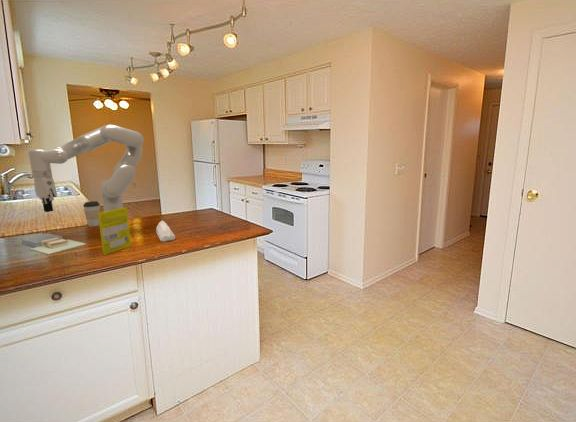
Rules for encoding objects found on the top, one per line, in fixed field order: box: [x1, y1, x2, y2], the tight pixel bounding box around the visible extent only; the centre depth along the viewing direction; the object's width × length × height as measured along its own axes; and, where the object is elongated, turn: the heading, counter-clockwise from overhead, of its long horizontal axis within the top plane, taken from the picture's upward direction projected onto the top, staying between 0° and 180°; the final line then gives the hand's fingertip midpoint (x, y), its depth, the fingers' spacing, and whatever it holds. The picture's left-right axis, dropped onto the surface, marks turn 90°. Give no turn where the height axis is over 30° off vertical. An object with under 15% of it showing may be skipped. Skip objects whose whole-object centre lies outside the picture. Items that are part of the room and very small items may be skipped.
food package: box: [98, 206, 132, 256], centre depth 146 cm, size 15×1×20 cm, turn 159°
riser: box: [21, 233, 64, 248], centre depth 159 cm, size 14×12×2 cm
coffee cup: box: [83, 200, 101, 227], centre depth 195 cm, size 9×9×15 cm
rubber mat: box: [30, 239, 87, 255], centre depth 153 cm, size 16×17×1 cm
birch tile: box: [41, 238, 68, 249], centre depth 154 cm, size 10×7×2 cm
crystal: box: [155, 220, 176, 242], centre depth 172 cm, size 7×7×24 cm
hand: (48, 211), depth 153 cm, fingers closed
